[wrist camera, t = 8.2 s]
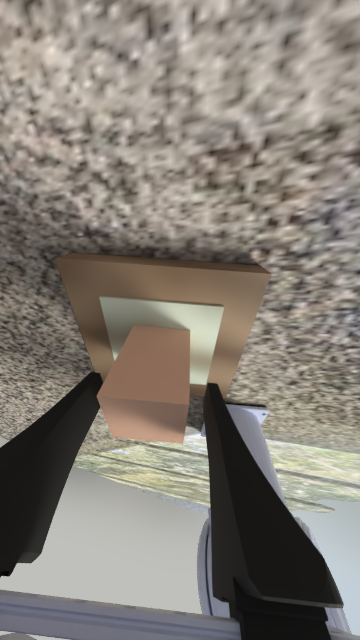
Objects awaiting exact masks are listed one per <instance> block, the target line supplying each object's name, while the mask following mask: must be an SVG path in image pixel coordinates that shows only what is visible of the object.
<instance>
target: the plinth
mask: <svg viewBox="0 0 360 640" xmlns="http://www.w3.org/2000/svg"><path fill="white" fill-rule="evenodd" d="M54 259H55V262H56V265H57V267H58V270H59V273H60V276H61V279H62V281H63V284H64V287H65V290H66V292H67V295H68V298H69V301H70V304H71V306H72V309H73V312H74V315H75V318H76V320H77V323H78V326H79V329H80V332H81V334H82V337H83V340H84V343H85V346H86V348H87V351H88V354H89V357H90V360H91V362H92V365H93V368H94V371H95V373H100V375H101V378H102V381H103V383H104V381H105V379H106V377H107V375H108V373H109V371H110V369H111V368H112V366H113V364H114V362H115V360H116V358H117V356H118V354H119V352H120V350H121V348H122V347H123V345H124V343H125V341H126V339H127V337H128V335H129V333H130V331H131V329H132V327H133V326H134V325H139V326H151V327H163V328H175V329H187V330H190V396H197V397H204V396H205V391H206V387H207V383H217V384H218V386H219V389H220V391H221V394H222V396H223V399H225V398H226V395H227V393H228V390H229V387H230V385H231V382H232V379H233V377H234V374H235V371H236V368H237V366H238V363H239V360H240V358H241V355H242V352H243V349H244V347H245V344H246V341H247V339H248V336H249V333H250V331H251V328H252V325H253V322H254V320H255V317H256V314H257V312H258V309H259V306H260V303H261V301H262V298H263V295H264V293H265V290H266V287H267V285H268V282H269V279H270V276H271V273H269V272H268V271H267V270H265V269H264V268H263V267H261V266H259V265H245V264H231V263H217V262H203V261H189V260H175V259H161V258H147V257H133V256H119V255H105V254H91V253H77V252H72V253H69V254H66V255H63V256H60V257H57V258H54Z"/></svg>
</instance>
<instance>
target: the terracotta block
mask: <svg viewBox="0 0 360 640" xmlns="http://www.w3.org/2000/svg"><path fill="white" fill-rule="evenodd" d="M97 399H98V401H99V404H100V406H101V409H102V411H103V414H104V417H105V419H106V422H107V424H108V427H109V429H110V432H111V434H112V437H120V438H130V439H141V440H151V441H161V442H172V443H182V444H183V440H184V434H185V428H186V422H187V416H188V410H189V399H190V330H187V329H175V328H163V327H151V326H139V325H134V326H133V327H132V329H131V331H130V333H129V335H128V337H127V339H126V341H125V343H124V345H123V347H122V348H121V350H120V352H119V354H118V356H117V358H116V360H115V362H114V364H113V366H112V368H111V369H110V371H109V373H108V375H107V377H106V379H105V381H104V383H103V385H102V387H101V389H100V390H99V392H98V394H97Z"/></svg>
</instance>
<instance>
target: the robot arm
mask: <svg viewBox="0 0 360 640" xmlns="http://www.w3.org/2000/svg"><path fill="white" fill-rule="evenodd" d="M102 385H103V381H102V378H101V375H100V373H95V372H91V373H89V374H88V375H87V376H86V377H85V378H84V379H83V380H82V381H81V382H80V383H79V384H78V385H77V386H75V387H74V388H73V389H72V390H71V391H70V392H69V393H68V394H67V395H66V396H65V397H63V398H62V399H61V400H60V401H59V402H58V403H57V404H56V405H54V406H53V407H52V408H51V409H50V410H49V411H47V412H46V413H45V414H44V415H43V416H41V417H40V418H39V419H38V420H37V421H35V422H34V423H33V424H31V425H30V426H29V427H28V428H26V429H25V430H24V431H22V432H21V433H20V434H18V435H17V436H16V437H14V438H13V439H12V440H10V441H9V442H8V443H6V444H5V445H3V446H2V447H1V448H0V577H1V576H10V575H11V573H12V572H13V569H14V568H15V565H16V564H17V563H32V562H33V561H34V560H35V559H36V558H37V557H38V556H39V555H40V554H41V552H42V549H43V546H44V543H45V540H46V537H47V534H48V531H49V528H50V525H51V522H52V519H53V516H54V513H55V510H56V508H57V505H58V502H59V499H60V496H61V494H62V491H63V488H64V486H65V483H66V480H67V478H68V475H69V473H70V470H71V468H72V465H73V463H74V460H75V458H76V456H77V453H78V451H79V449H80V447H81V444H82V443H83V441H84V439H85V437H86V435H87V433H88V431H89V429H90V427H91V425H92V423H93V421H94V419H95V417H96V415H97V413H98V410H99V408H100V404H99V401H98V399H97V394H98V392H99V390H100V389H101V387H102ZM203 407H204V423H203V427H202V430H201V436H202V437H206V441H207V450H208V459H209V476H210V504H211V508H209V509H208V512H209V518H208V519H207V520H206V521H205V523H204V525H203V529H202V532H201V535H200V539H199V544H198V555H197V579H198V591H199V599H200V604H201V609H202V613H203V614H195V613H186V612H178V611H170V610H161V609H153V608H145V607H136V606H129V605H120V604H113V603H104V602H96V601H88V600H79V599H71V598H63V597H54V596H47V595H38V594H30V593H22V592H14V591H6V590H0V631H8V632H16V633H11V634H6V635H2V636H0V640H36V639H34V638H32V637H30V636H29V635H26V634H32V635H39V636H47V637H55V638H63V639H71V640H360V636H356V635H352V634H351V631H350V628H349V625H348V622H347V620H346V617H345V614H344V611H343V609H342V608H343V605H344V604H343V601H342V599H341V596H340V593H339V591H338V589H337V586H336V583H335V581H334V579H333V577H332V575H331V572H330V570H329V568H328V566H327V564H326V562H325V560H324V558H323V556H322V554H321V552H320V550H319V547H318V545H317V542H316V540H315V538H314V536H313V534H312V532H311V530H310V528H309V527H308V526H307V525H306V524H305V523H303V522H302V520H301V519H300V518H299V517H294V516H293V515H292V514H291V513H290V512H289V510H288V507H287V504H286V501H285V498H284V495H283V492H282V489H281V486H280V483H279V480H278V477H277V474H276V471H275V468H274V465H273V462H272V459H271V456H270V453H269V449H268V446H267V443H266V440H265V437H264V434H263V431H262V428H261V423H262V422H263V420H264V419H265V417H266V416H267V415H268V413H269V410H268V408H264V407H253V406H242V405H231V404H225V401H224V399H223V396H222V394H221V391H220V389H219V386H218V384H217V383H207V387H206V391H205V396H204V400H203Z"/></svg>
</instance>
